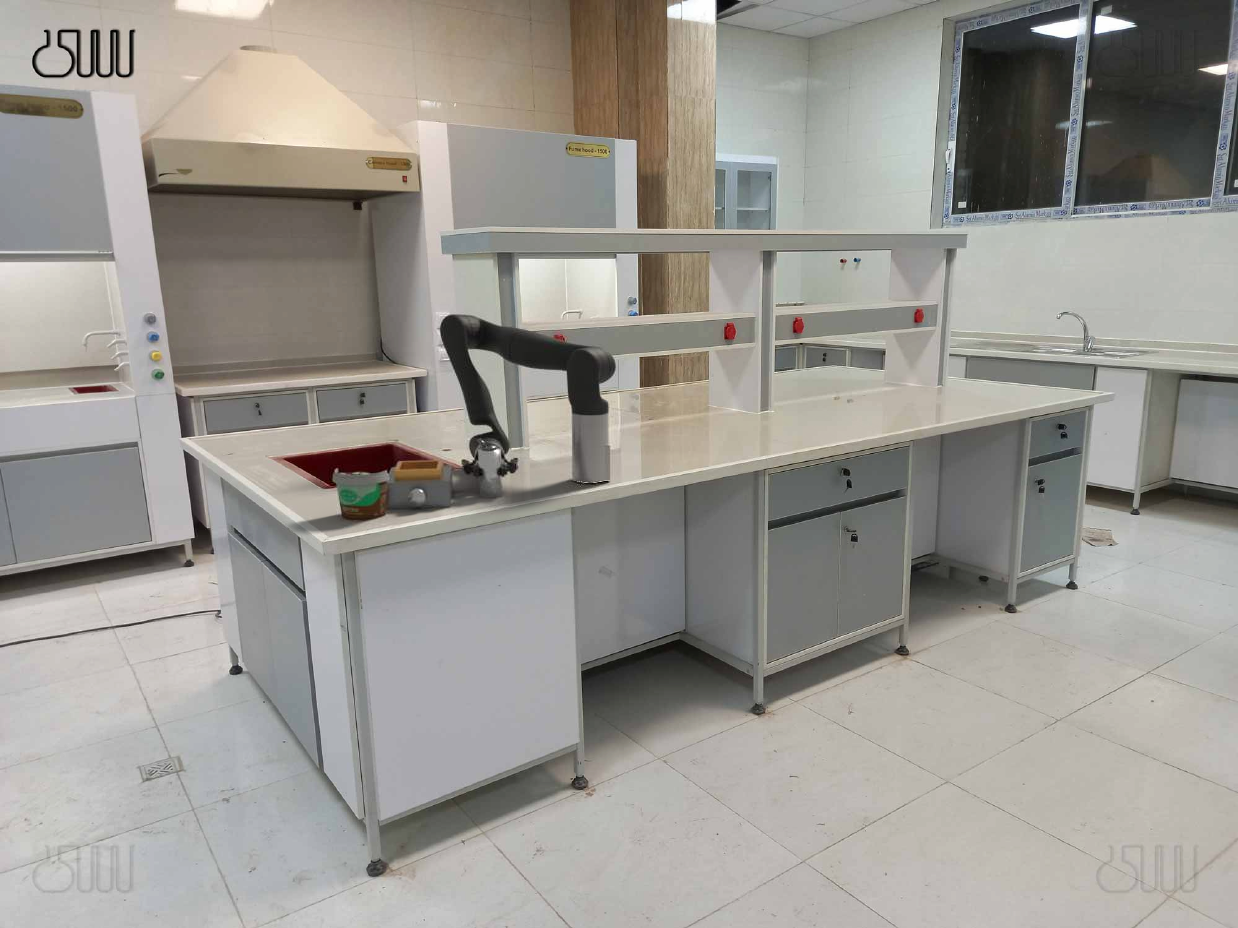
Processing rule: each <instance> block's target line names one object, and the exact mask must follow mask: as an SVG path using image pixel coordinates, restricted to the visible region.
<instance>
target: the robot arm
mask: <svg viewBox="0 0 1238 928" xmlns="http://www.w3.org/2000/svg"><path fill="white" fill-rule="evenodd" d="M439 334H440V339H441V343H442V345H443V346H444V350H445V352H446V354H447V356H448V357H447V358H449V361H450V364H451V366H452V369H453V370H454V373H455V376H456V378H457V381H458V383H459V386H460V390H461V392H462V395H463V399H464V403H465V407H466V412H467V415H468V420H469V422H470V423H469V424H471V425H473V426H487V427H489V428H490V429H491V431H488V432H484V433H479V434H476V435H473V436H472V437H471V438H470V440H469V442H468V446H469V447H468V449H469V453H470V454H471V456H472V458H473V459H472V461H470V460H469V459H468V460H467V459H465V458H463V459H461V461H460V462H461V471H462V472H463V473H464V474H465V475H468V476H470V475H471V474H472V475H473V477H476V479H477V478H479V458H478V450H479V449H481V448H482V446H481V445H480V444H479V442H478V441H477V440H478V439H479V438H481V439H482V440H483V442H484V443H485V444H486V445H497V448H500V449H501V476H502V478H505V476H507V475H508V473H509V474H514V473H516V472H517V471H518V469H519V458H518V457H512V458H510V460H508V459H507V458H506V455H507V454H508V453H509V450H510V447H511V446H510V440H509V438H508V436H507V435H506V433H505V431H504V429H503V428H502V425H501V424H500V422H499V420H498V418H497V415H496V412H495V407H494V404H493V400H492V396H491V393H490V390H489V388H488V386H487V384H486V383H485V381H484V379H483V377H481V375H480V373H479V372H478V370H477V369H476V367H475V365H474V364H473V361H472V360H471V357H470V353H469V350H480V351H487V352H492V353H494V354H496V355H499V356H500V357H502V358H503V359H504V360H505V361H507V362H508V363H511V364H515V365H517V366H521V367H526V368H530V369H533V370H534V369H535V370H544V371H545V370H547V371H564V372H566V385H567V386H566V387H567V397H568V399H567V400H568V401H569V404H570V406H571V407H570V408H571V470H572V471H571V477H572V479H573V480H575V481H580V482H581V481H582V482H588V483H593V482H599V481H604V480H610V481H611V444H610V441H609V439H610V436H609V435H610V434H609V433H610V432H609V429H610V428H609V426H610V425H609V422H610V421H609V419H610V418H609V417H610V416H609V412H610V411H609V409H610V407H609V401H607V400H606V399H604V398H603V397H602V396H601V393H600V392H601V391H600V390H601V389H600V384H603V383H605V382H607V381H609V380H610V379H612V377H613V376H614V374H615V372H616V368H617V367H616V366H617V365H616V360H615V358H614V356H613V355H612V354H611V352H609V351H608V350H607V349H605V348H603V347H600V346H593V345H585V344H577V343H571V342H567V341H564V340H561V339H559V338H555V337H552V336H549V335H547V334H546V335H545V334H543V333H539V332H536V331H531V330H527V329H524V328H518V327H514V326H512V327H511V326H502V325H498V324H495V323H492V322H490V321H487V320H485V319H482V318H480V317H478V316H474V315H471V314H448V315H446V316H445V317H444V318H443V319H442V320H441V323H440V326H439ZM573 480H572V481H573Z"/></svg>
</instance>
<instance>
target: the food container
mask: <svg viewBox="0 0 1238 928" xmlns="http://www.w3.org/2000/svg"><path fill="white" fill-rule="evenodd" d="M388 480H390V478H389V473H388V470H387V469H386V470H383V471H380V472H375V473H372V472H367V471H355V472H345V471H344V472H340V471H339V468H338V467H337V468H335V469H334V472H333V474H332V482H333V483H334V484H336V489H337V490H336V491H337V496H338V501H339V508H340V513H341V517H342V518H343V519H344V520H347V521H355V520H357V522H358V521H360V522H361V521H370V520H376V519H379V518H382V517H385V516H386V511H387V509H386V490H387V481H388Z"/></svg>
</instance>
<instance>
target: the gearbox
mask: <svg viewBox="0 0 1238 928" xmlns="http://www.w3.org/2000/svg"><path fill="white" fill-rule="evenodd" d="M388 474H389V478H390V480H388V481H387V490H386V510H403V509H404V510H408V509H434V508H438V509H439V508H451V506H452V500H453V499H452V498H453V492H454V487H453V486H454V484H453V466H452V465H444V460H443V459H438V460H437V459H435V460H434V459H432V460H429V459H428V460H403V461H402V460H398V462H397V463H396V465H395V466H393V467H391V468H390V470H389V473H388Z"/></svg>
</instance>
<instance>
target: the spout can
mask: <svg viewBox="0 0 1238 928" xmlns="http://www.w3.org/2000/svg"><path fill="white" fill-rule="evenodd" d="M477 441H478V442H479V444H480V445H481V446H482V448H481V449H479V450H478V458H479V479H478V481H479V483H478V485H479V497H480V498H483V499H498V498H500V496H501V497H502V496H503V480H502V479H503V477H502V476H501V449H500V448H497V445H486V444H485V443H484V442H483V440H482V439H481V438H479V439H478V440H477Z"/></svg>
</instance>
